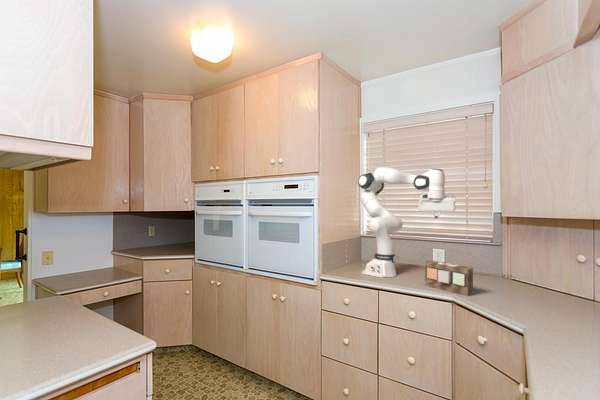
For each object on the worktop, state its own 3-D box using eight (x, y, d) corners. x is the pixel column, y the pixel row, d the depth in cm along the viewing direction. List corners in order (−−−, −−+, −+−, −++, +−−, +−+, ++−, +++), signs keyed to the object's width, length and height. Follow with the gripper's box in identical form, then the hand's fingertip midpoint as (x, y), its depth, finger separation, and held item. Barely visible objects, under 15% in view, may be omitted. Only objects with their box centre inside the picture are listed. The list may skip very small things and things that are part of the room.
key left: (427, 277, 180) (427, 267, 180) (431, 276, 183) (431, 266, 183) (436, 280, 175) (437, 269, 175) (441, 278, 178) (441, 268, 178)
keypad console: (425, 285, 182) (425, 260, 181) (430, 283, 185) (430, 259, 185) (467, 296, 163) (467, 268, 162) (472, 293, 166) (473, 266, 166)
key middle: (437, 281, 173) (437, 270, 173) (441, 279, 176) (442, 269, 176) (448, 283, 168) (448, 272, 168) (452, 282, 171) (452, 271, 171)
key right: (452, 283, 168) (452, 272, 168) (456, 282, 171) (456, 271, 171) (464, 286, 163) (464, 274, 163) (468, 284, 166) (468, 273, 166)
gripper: (456, 195, 182) (456, 219, 182) (420, 195, 193) (419, 217, 193) (455, 195, 177) (455, 219, 177) (417, 195, 188) (417, 218, 188)
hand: (436, 218), depth 185 cm, fingers closed
